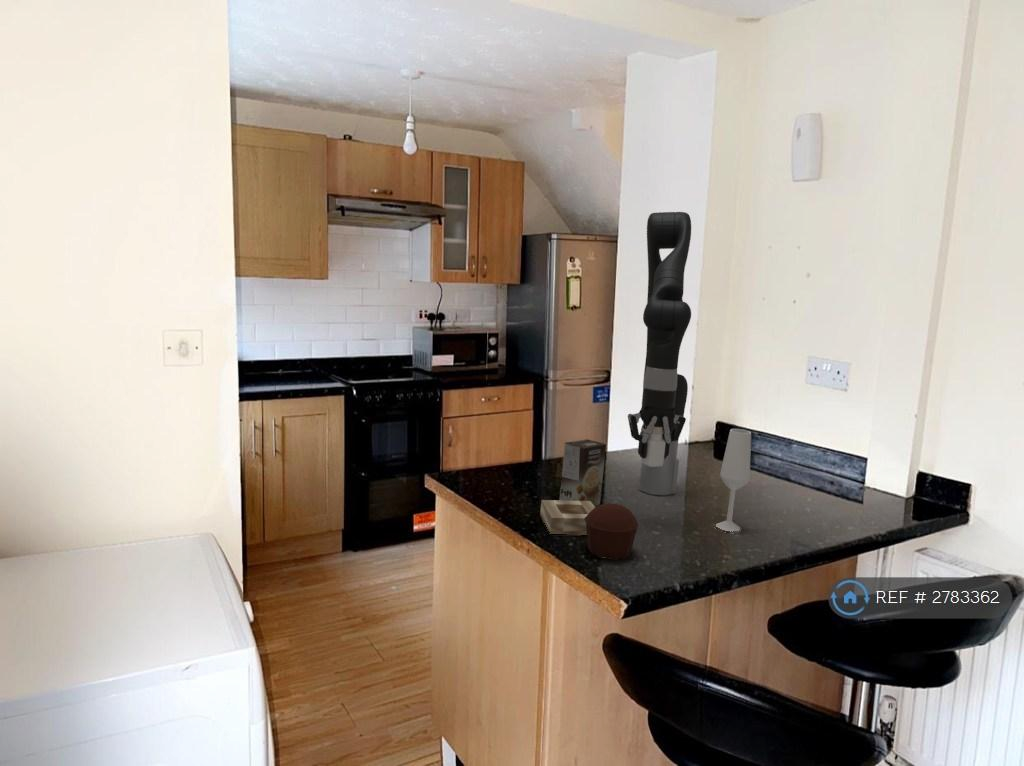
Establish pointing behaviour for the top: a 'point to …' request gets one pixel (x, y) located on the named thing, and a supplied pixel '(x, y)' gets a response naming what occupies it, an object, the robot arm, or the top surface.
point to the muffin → (611, 530)
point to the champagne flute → (735, 470)
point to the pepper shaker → (655, 448)
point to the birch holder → (565, 516)
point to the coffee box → (582, 471)
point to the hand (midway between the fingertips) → (652, 457)
